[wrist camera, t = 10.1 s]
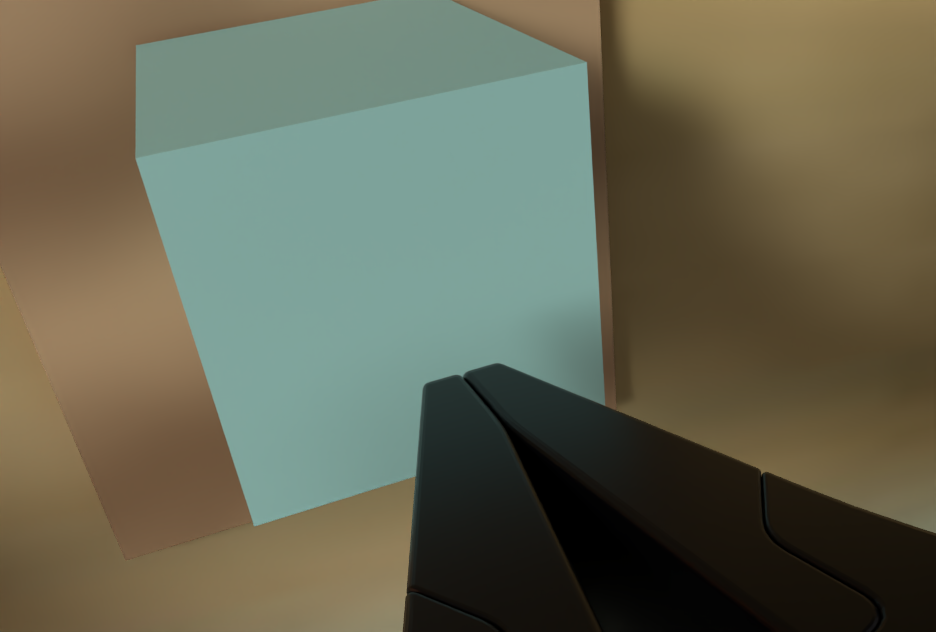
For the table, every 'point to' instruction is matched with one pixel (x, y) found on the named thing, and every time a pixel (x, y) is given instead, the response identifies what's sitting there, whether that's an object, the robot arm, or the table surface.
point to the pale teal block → (368, 227)
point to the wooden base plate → (158, 245)
